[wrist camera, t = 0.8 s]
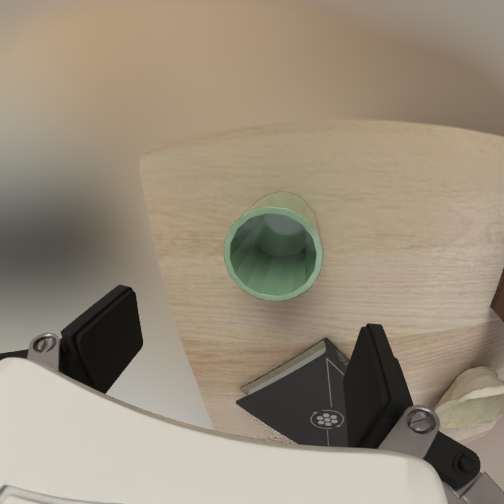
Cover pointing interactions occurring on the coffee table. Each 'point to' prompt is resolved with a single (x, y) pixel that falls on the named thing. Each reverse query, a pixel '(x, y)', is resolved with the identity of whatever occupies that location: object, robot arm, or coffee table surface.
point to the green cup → (275, 248)
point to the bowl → (472, 400)
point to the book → (303, 397)
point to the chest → (499, 299)
